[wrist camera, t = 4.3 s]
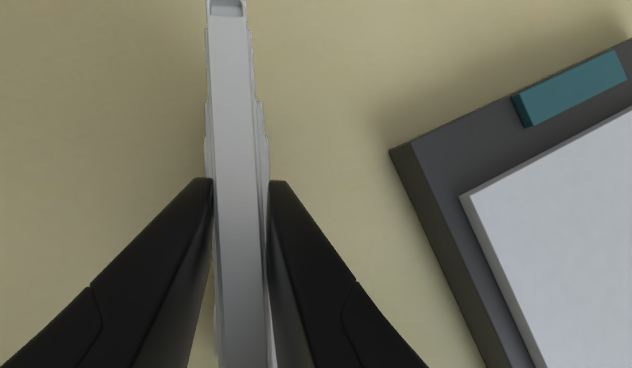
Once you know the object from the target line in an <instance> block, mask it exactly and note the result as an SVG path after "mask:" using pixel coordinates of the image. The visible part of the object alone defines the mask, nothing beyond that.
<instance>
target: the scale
mask: <svg viewBox="0 0 632 368" xmlns="http://www.w3.org/2000/svg"><path fill="white" fill-rule="evenodd" d="M389 153H390V155H391V158H392V160H393V162H394V164H395V166H396V169H397V171H398V173H399V175H400V177H401V180H402V182H403V184H404V186H405V188H406V191H407V193H408V195H409V197H410V199H411V201H412V204H413V206H414V208H415V210H416V212H417V215H418V217H419V219H420V221H421V223H422V226H423V228H424V230H425V232H426V234H427V237H428V239H429V241H430V243H431V245H432V248H433V250H434V252H435V254H436V256H437V258H438V261H439V263H440V265H441V267H442V269H443V272H444V274H445V276H446V278H447V280H448V283H449V285H450V287H451V289H452V291H453V294H454V296H455V298H456V300H457V302H458V305H459V307H460V309H461V311H462V313H463V315H464V318H465V320H466V322H467V324H468V326H469V329H470V331H471V333H472V335H473V337H474V340H475V342H476V344H477V346H478V348H479V351H480V353H481V355H482V357H483V359H484V362H485V364H486V366H487V368H632V38H630V39H628V40H626V41H624V42H622V43H619V44H617V45H615V46H613V47H611V48H609V49H606V50H604V51H602V52H600V53H598V54H596V55H594V56H591V57H589V58H587V59H585V60H583V61H581V62H578V63H576V64H574V65H572V66H570V67H568V68H565V69H563V70H561V71H559V72H557V73H555V74H552V75H550V76H548V77H546V78H544V79H542V80H539V81H537V82H535V83H533V84H531V85H529V86H526V87H524V88H522V89H520V90H518V91H516V92H514V93H511V94H509V95H507V96H505V97H503V98H501V99H498V100H496V101H494V102H492V103H490V104H488V105H485V106H483V107H481V108H479V109H477V110H475V111H472V112H470V113H468V114H466V115H464V116H462V117H459V118H457V119H455V120H453V121H451V122H449V123H446V124H444V125H442V126H440V127H438V128H436V129H434V130H431V131H429V132H427V133H425V134H423V135H421V136H418V137H416V138H414V139H412V140H410V141H408V142H405V143H403V144H401V145H399V146H397V147H395V148H392V149H390V150H389Z"/></svg>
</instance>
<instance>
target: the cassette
mask: <svg viewBox="0 0 632 368" xmlns="http://www.w3.org/2000/svg"><path fill="white" fill-rule="evenodd" d="M205 2H206V14H207V28H205V30H204V34H205V52H206V70H207V89H208V102H205V120H206V136H205V138H204V163H205V172H206V178H212V179H213V199H214V227H213V238H212V250H213V269H214V287H215V306H214V318H213V332H214V348H215V355H216V357H217V358H218V361H219V368H277V359H276V351H275V342H274V334H273V326H272V317H271V309H270V300H269V292H268V284H267V271H266V206H267V194H268V182H269V180H270V159H269V145H268V138H267V135H266V134H264V118H263V105H262V102H261V101H256V92H255V77H254V61H253V45H252V32H251V30H250V29H248V27H247V15H246V0H205Z"/></svg>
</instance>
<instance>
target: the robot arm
mask: <svg viewBox="0 0 632 368" xmlns="http://www.w3.org/2000/svg"><path fill="white" fill-rule="evenodd" d="M213 227H214V199H213V179H212V178H204V177H196V178H194V179H193V180H192V181H191V182H190V183H189V184H188V185H187V186H186V187H185V188H184V189H183V190H182V191H181V192H180V193H179V194H178V195H177V196H176V197H175V198H174V199H173V200H172V201H171V202H170V203H169V204H168V205H167V206H166V207H165V208H164V209H163V210H162V211H161V212H160V213H159V214H158V215H157V216H156V217H155V218H154V219H153V220H152V221H151V222H150V223H149V224H148V225H147V226H146V227H145V228H144V229H143V230H142V231H141V232H140V233H139V234H138V235H137V236H136V237H135V238H134V239H133V240H132V242H131V243H130V244H129V245H128V246H127V247H126V248H125V249H124V250H123V251H122V252H121V253H120V254H119V255H118V256H117V257H116V258H115V259H114V260H113V261H112V262H111V263H110V264H109V265H108V266H107V267H106V268H105V269H104V270H103V271H102V272H101V273H100V274H99V275H98V276H97V277H96V278H95V279H94V280H93V281H92V282H91V283H90V287H86V288H85V289H84V290H83V291H82V292H81V293H80V294H79V295H78V296H77V297H76V298H75V299H74V300H73V301H72V302H71V303H70V304H69V305H68V306H67V307H66V308H64V309H63V310H62V311H61V312H60V313H59V314H58V315H57V316H56V317H55V318H54V319H53V320H52V321H51V322H50V323H49V324H48V325H47V326H46V327H45V328H44V329H43V330H41V331H40V332H39V333H38V334H37V335H36V336H35V337H34V338H32V339H31V340H30V341H29V342H28V343H27V344H26V345H25V346H23V347H22V348H21V349H20V350H19V351H18V352H17V353H15V354H14V355H13V356H12V357H11V358H10V359H9V360H7V361H6V362H5V363H4V364H3V365H2V366H0V368H187V365H188V360H189V356H190V351H191V347H192V343H193V338H194V334H195V330H196V325H197V321H198V317H199V312H200V308H201V303H202V299H203V295H204V290H205V286H206V282H207V277H208V272H209V267H210V259H211V248H212V238H213ZM266 271H267V284H268V292H269V300H270V309H271V317H272V326H273V334H274V342H275V351H276V359H277V368H429V367H428V366H427V365H426V364H425V363H424V362H423V360H422V359H421V358H420V357H419V356H418V355H417V354H416V353H415V351H414V350H413V349H412V348H411V347H410V346H409V345H408V344H407V342H406V341H405V340H404V339H403V338H402V337H401V336H400V334H399V333H398V332H397V331H396V330H395V329H394V327H393V326H392V325H391V324H390V323H389V322H388V320H387V319H386V318H385V317H384V316H383V314H382V313H381V312H380V310H379V309H378V308H377V307H376V305H375V304H374V303H373V301H372V300H371V299H370V297H369V296H368V295H367V293H366V292H365V290H364V289H363V288H362V286H361V285H360V283H359V282H356V278H355V277H354V275H353V274H352V273H351V271H350V270H349V268H348V267H347V266H346V264H345V263H344V261H343V260H342V259H341V257H340V256H339V254H338V253H337V252H336V250H335V249H334V247H333V246H332V245H331V243H330V242H329V241H328V239H327V238H326V236H325V235H324V234H323V232H322V231H321V229H320V228H319V227H318V225H317V224H316V222H315V221H314V220H313V218H312V217H311V215H310V214H309V213H308V211H307V210H306V209H305V207H304V206H303V204H302V203H301V202H300V200H299V199H298V197H297V196H296V195H295V193H294V192H293V190H292V189H291V188H290V186H289V185H288V183H287V182H286V181H278V180H271V181H269V184H268V194H267V206H266Z"/></svg>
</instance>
